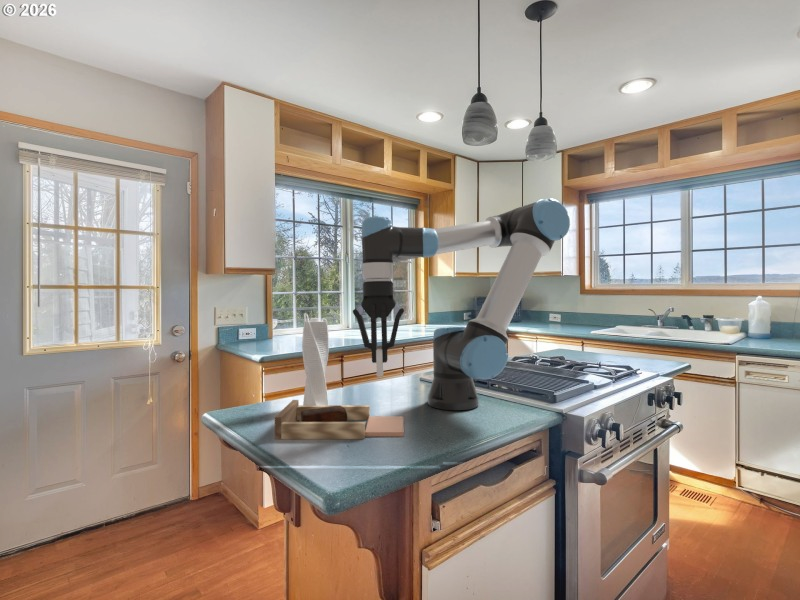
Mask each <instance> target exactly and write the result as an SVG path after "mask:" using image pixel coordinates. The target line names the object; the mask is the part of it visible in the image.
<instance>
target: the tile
mask: <svg viewBox="0 0 800 600" xmlns="http://www.w3.org/2000/svg"><path fill="white" fill-rule="evenodd" d="M404 431H405V430H404V416H402V415H401V416H395V415H393V416H386V415H385V416H370V417H369V419H368V420H367V423H366V425H365V437H404V436H405V434H404Z"/></svg>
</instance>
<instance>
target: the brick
mask: <svg viewBox="0 0 800 600" xmlns="http://www.w3.org/2000/svg"><path fill="white" fill-rule="evenodd" d="M339 405H340V404H339ZM339 405H338V406H331V407H323V408H317V409H308V410H303V411H301V420H300V422H348V420H347V412H346V409H345V408H344V407H342V406H339Z"/></svg>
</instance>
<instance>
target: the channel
mask: <svg viewBox="0 0 800 600" xmlns="http://www.w3.org/2000/svg"><path fill="white" fill-rule="evenodd" d="M299 403H300V402H299V399H292V401H290V402H289V403H288V404H287V405H285V407H284V408H283V409H281V410H280V412H279V413H277V415H275V416H274V440H365V437H366V436H365V430H366V422H365V421H368V419H369V417H371V416H370V413H371V412H370V411H371V410H370V404H369V405H366V404H365V405H363V404H361V405H359V404H358V405H352V404H351V405H350V404H347V405H343V404H342V405H340V404H339V406H342V407H344V408H345V409H346V412H347V422H301V411H303V410H308V409H317V408H323V407H331V406H338V405H337V404H336V405H333V404H332V405H329V404H328V405H303V404H302V405H299Z"/></svg>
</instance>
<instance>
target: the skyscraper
mask: <svg viewBox="0 0 800 600" xmlns="http://www.w3.org/2000/svg"><path fill="white" fill-rule="evenodd" d="M303 320H304V321H303V327H302V329H303V330H302V341H301V343H302V344H301V345H302V347H301V348H302V349H301V350H302V361H303V366H304V372H305V376H306V378H305V386H304V394H303V402H302V403H303V404H302V405H329V397H328V396H329V395H328V388H327V381H326V375H325V374H326V369H327V365H328V359H329V347H330V346H329V345H330V343H329V342H330V341H329V340H330V339H329V327H328V320H327V319H326V318H325V317H322V318H321V317H310V319H309V314H308V313H307V312H303Z"/></svg>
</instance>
